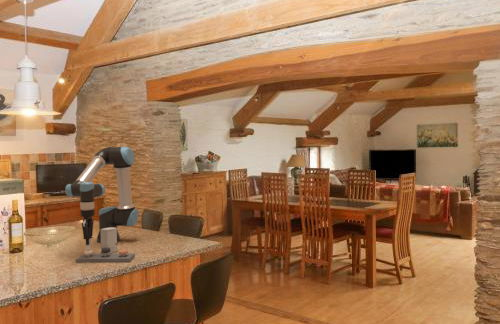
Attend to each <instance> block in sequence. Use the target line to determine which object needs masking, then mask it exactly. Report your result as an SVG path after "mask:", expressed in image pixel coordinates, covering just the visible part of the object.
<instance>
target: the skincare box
mask: <svg viewBox="0 0 500 324" xmlns="http://www.w3.org/2000/svg"><path fill="white" fill-rule="evenodd" d="M100 230H101V243H100V254H103V253H102V250H101V249H102V248H107V247H108V248H110V252H108V254H114V253H116V252H118V241H117V230H118V227H117V228H111V227H110V228H104V229H100Z"/></svg>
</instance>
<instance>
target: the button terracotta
mask: <svg viewBox="0 0 500 324" xmlns="http://www.w3.org/2000/svg"><path fill="white" fill-rule="evenodd" d="M128 251H129V250H128V249H126V248H123V249H119V250H118V254H120V255H121V257H126V254H129V253H128Z"/></svg>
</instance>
